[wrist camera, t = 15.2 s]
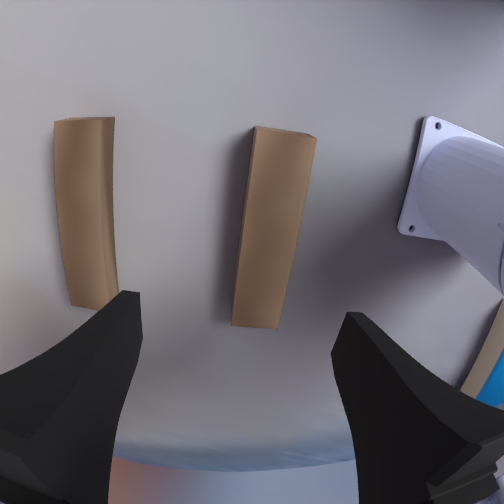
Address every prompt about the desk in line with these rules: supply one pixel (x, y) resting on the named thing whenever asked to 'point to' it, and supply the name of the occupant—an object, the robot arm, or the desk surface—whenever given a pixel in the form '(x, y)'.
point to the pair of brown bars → (252, 230)
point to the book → (489, 366)
